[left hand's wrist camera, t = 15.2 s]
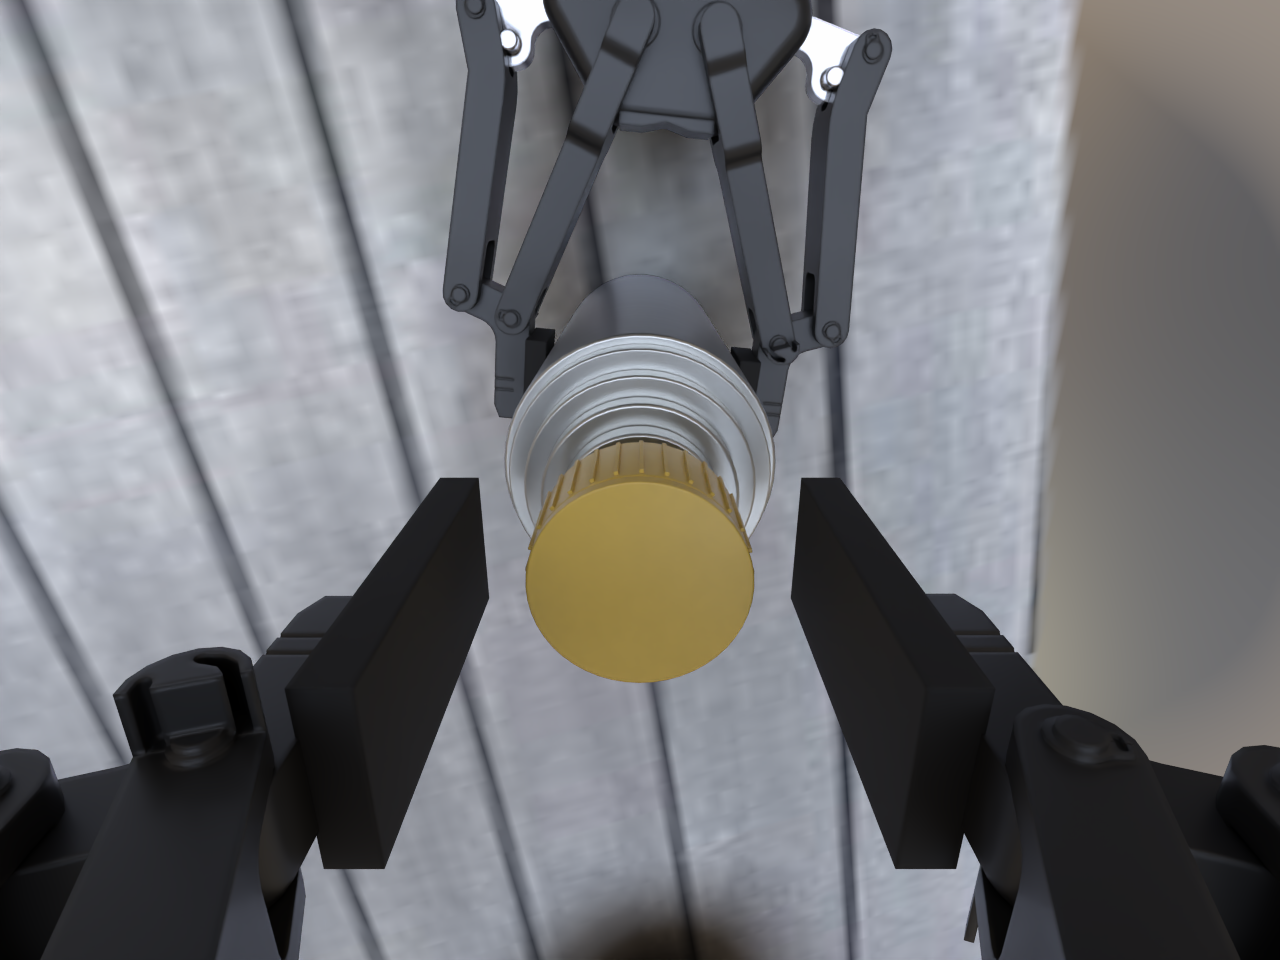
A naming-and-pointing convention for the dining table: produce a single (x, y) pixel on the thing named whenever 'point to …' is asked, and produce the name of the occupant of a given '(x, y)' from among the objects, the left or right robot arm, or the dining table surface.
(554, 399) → the bottle
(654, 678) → the cap
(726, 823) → the dining table surface
